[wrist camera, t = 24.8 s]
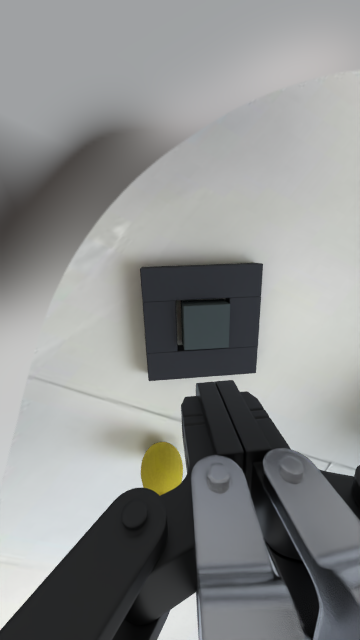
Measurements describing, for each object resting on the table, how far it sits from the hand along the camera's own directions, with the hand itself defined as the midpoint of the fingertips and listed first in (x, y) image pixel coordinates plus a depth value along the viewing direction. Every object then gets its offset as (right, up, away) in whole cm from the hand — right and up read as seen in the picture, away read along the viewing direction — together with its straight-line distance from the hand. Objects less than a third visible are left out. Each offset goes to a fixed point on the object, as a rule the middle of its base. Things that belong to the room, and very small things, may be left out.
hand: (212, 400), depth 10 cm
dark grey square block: (+1, +3, +21) cm, 21 cm away
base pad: (+1, +3, +21) cm, 21 cm away
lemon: (-4, -15, +26) cm, 30 cm away
